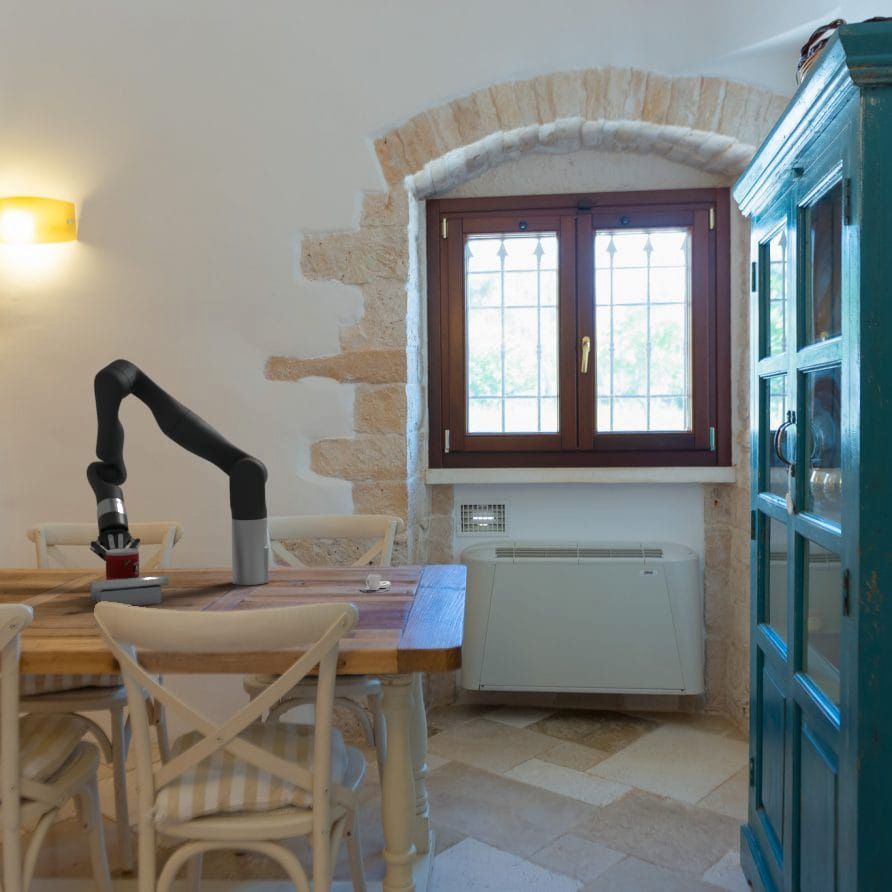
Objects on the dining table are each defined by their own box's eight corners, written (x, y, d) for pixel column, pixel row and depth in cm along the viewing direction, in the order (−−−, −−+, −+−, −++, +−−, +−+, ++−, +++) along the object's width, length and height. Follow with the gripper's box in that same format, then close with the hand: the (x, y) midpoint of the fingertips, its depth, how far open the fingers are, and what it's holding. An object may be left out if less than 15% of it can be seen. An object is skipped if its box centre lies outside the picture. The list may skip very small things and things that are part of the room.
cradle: (159, 592, 224) (159, 567, 224) (169, 602, 212) (168, 576, 212) (87, 599, 216) (86, 573, 216) (93, 610, 204) (92, 582, 204)
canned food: (129, 597, 218) (128, 553, 218) (99, 596, 220) (98, 552, 219) (145, 591, 225) (144, 548, 225) (117, 590, 227) (116, 547, 227)
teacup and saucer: (387, 587, 232) (387, 571, 232) (397, 592, 225) (397, 576, 225) (355, 589, 229) (354, 574, 229) (364, 595, 221) (364, 579, 221)
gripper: (136, 526, 245) (144, 577, 234) (85, 529, 239) (90, 582, 228) (139, 509, 240) (146, 560, 229) (86, 511, 234) (92, 564, 223)
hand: (118, 571), depth 229 cm, fingers closed
